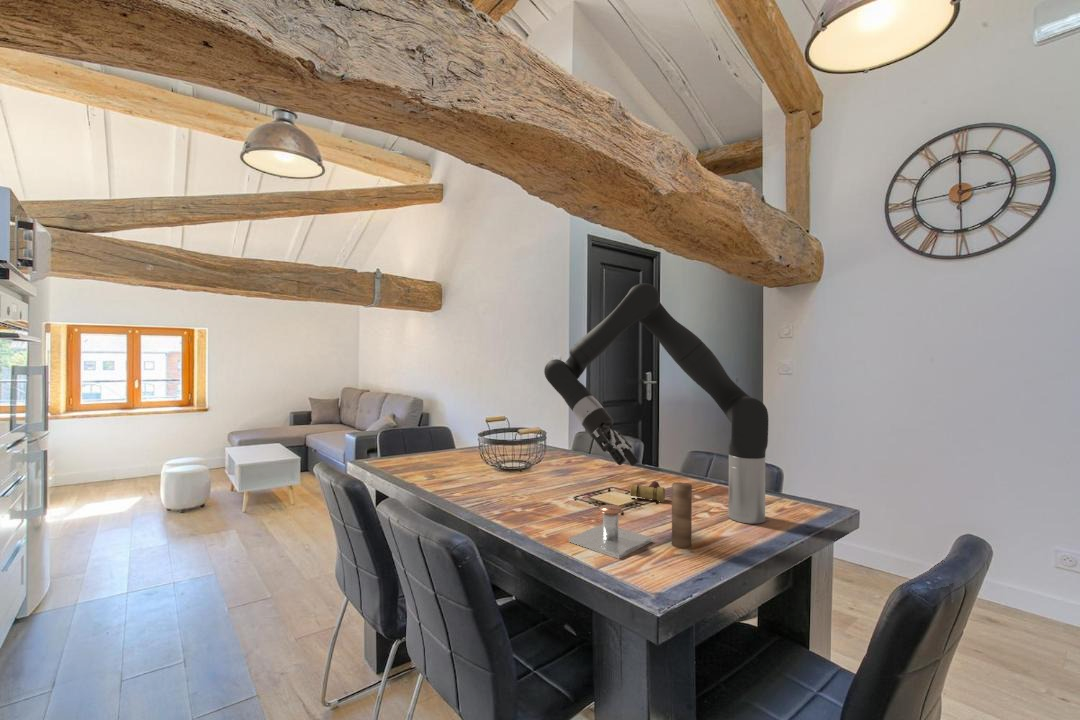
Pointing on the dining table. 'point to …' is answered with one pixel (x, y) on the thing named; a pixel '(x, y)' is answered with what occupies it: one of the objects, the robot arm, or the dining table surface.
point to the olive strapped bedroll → (649, 491)
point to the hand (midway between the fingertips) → (629, 463)
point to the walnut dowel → (681, 515)
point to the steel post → (611, 536)
